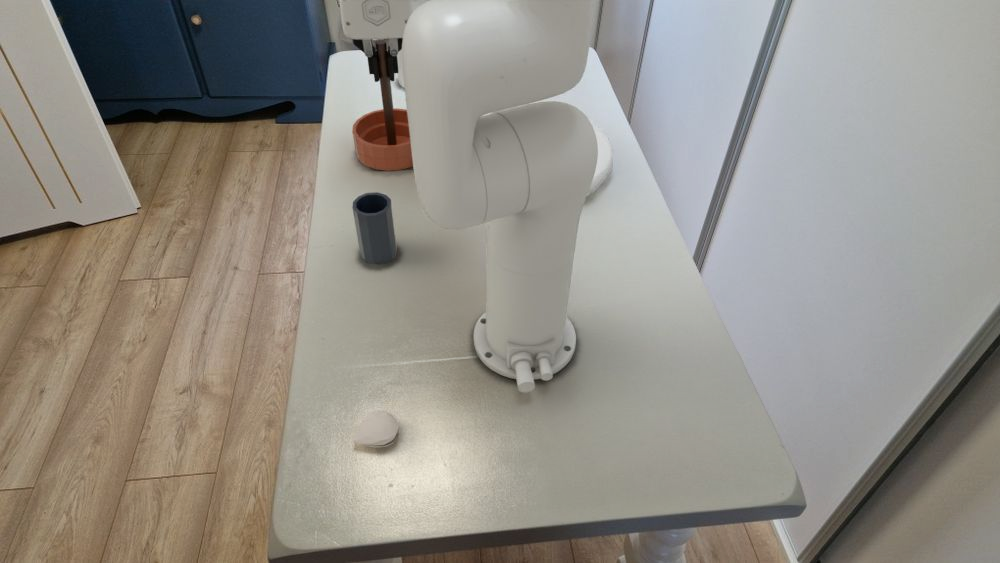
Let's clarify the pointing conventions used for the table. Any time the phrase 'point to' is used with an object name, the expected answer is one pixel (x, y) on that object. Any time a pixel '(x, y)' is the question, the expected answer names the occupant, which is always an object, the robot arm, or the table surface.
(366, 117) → the bowl
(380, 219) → the pot
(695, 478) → the table surface
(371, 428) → the grey pebble
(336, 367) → the table surface
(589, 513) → the table surface
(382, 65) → the stick
